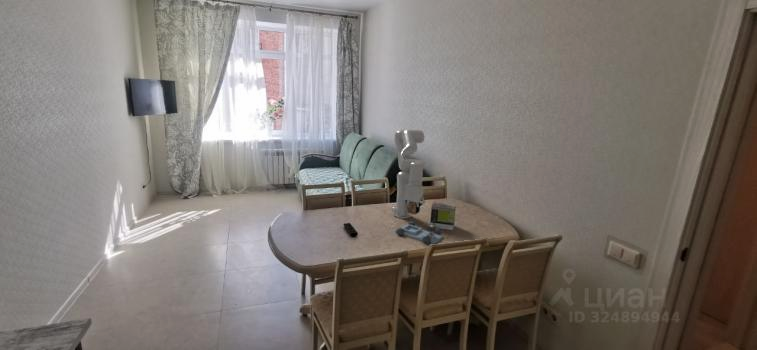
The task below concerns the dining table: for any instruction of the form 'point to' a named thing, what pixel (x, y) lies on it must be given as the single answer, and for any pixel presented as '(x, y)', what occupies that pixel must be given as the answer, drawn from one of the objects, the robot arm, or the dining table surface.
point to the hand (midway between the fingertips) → (413, 211)
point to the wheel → (431, 228)
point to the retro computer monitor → (443, 215)
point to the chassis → (419, 233)
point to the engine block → (412, 208)
